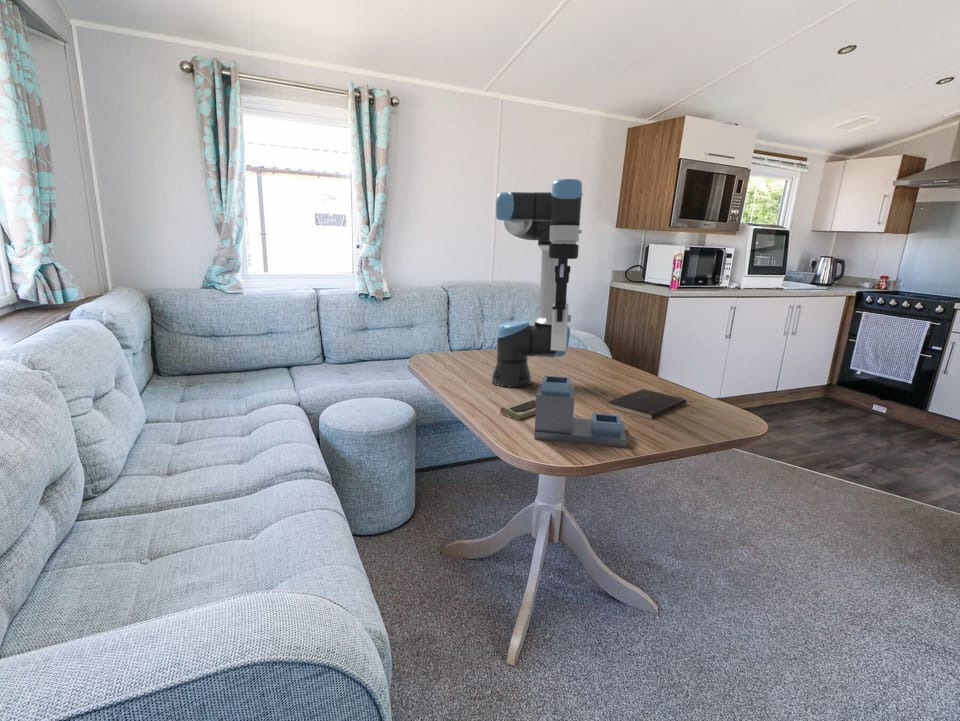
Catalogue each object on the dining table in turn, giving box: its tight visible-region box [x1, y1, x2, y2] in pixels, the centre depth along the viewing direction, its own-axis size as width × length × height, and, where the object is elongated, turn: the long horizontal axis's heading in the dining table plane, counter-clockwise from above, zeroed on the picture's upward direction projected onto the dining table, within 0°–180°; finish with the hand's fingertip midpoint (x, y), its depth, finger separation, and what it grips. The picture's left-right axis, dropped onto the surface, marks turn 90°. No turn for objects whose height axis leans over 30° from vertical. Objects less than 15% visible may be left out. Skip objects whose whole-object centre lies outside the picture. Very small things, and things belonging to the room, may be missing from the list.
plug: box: [551, 303, 572, 352], centre depth 130 cm, size 5×4×12 cm
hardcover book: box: [606, 388, 688, 420], centre depth 161 cm, size 16×23×2 cm
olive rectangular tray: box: [500, 396, 536, 421], centre depth 153 cm, size 16×8×3 cm, turn 136°
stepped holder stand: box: [533, 375, 628, 448], centre depth 134 cm, size 24×14×15 cm, turn 78°
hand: (559, 332), depth 131 cm, fingers closed on plug, 4 cm apart
